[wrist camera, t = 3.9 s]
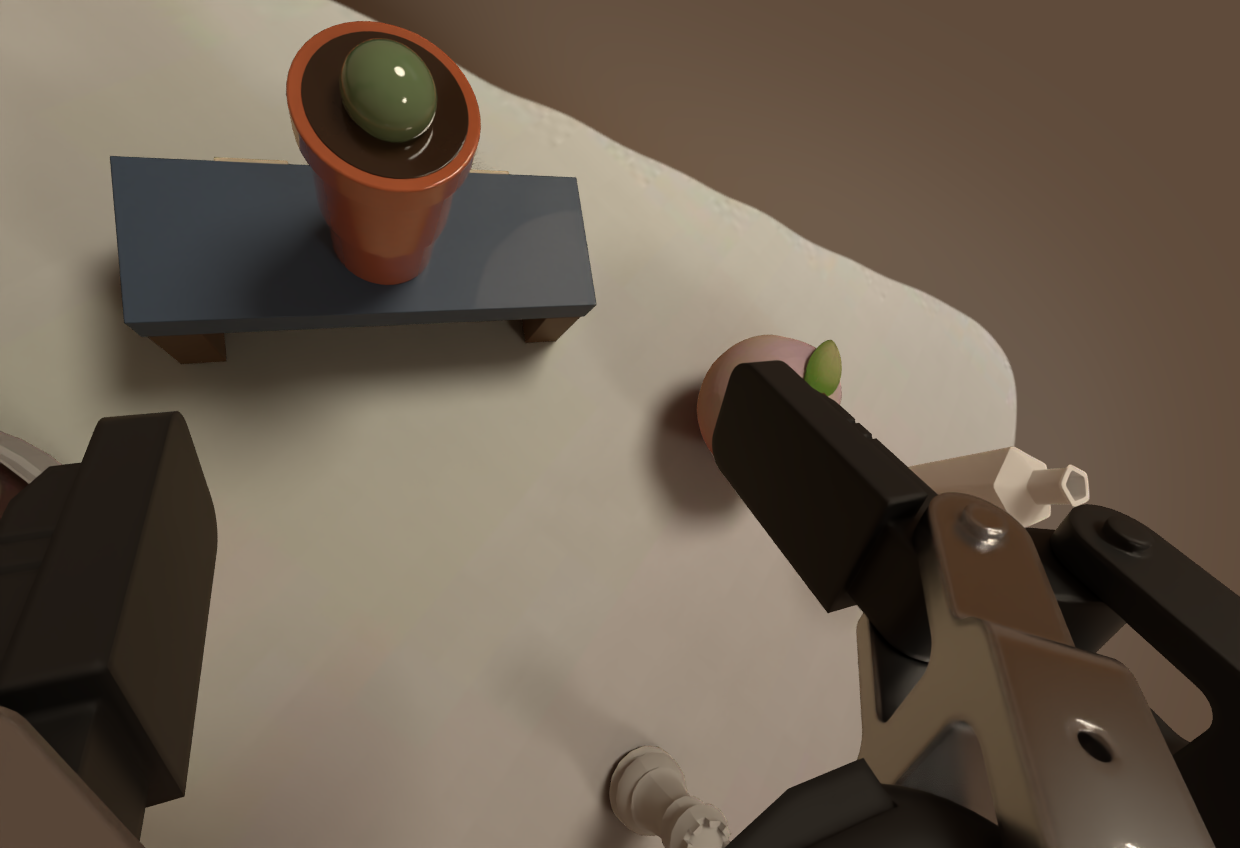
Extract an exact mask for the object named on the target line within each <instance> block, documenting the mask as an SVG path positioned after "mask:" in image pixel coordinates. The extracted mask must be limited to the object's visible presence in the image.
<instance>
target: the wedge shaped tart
mask: <svg viewBox="0 0 1240 848" xmlns="http://www.w3.org/2000/svg"><path fill="white" fill-rule="evenodd" d="M56 465H62V464H61V463H59V462H58V461H57V460H55V459H54V458H53V457H52V456H50V455H49V454H47V453H45V452H44V451H42V450H40V449H38V448H36V447H35V446H33V445H31V444H29V443H27V442H25V441H24V440H22V439H19V438H17V437H14V436H12V435H9V434H6V433H4V432H1V431H0V519H1V517H2V515H3V513H4V511H5V509H6V507H7V505H8V503H9V501H10V500H11V499H12V498H13V497H14V496H16V495H17V494H18V493H19V492H20V491H21V490H23V489H24V488H25V487H26V486H27V485H28V484H29V483H31V482H32V481H33V480H34V479H35V478H36V477H38V476H39V475H40V474H41V473H42V472H43V471H44V470H46V469H47V468H48V467H49V466H56Z"/></svg>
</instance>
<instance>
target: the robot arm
mask: <svg viewBox="0 0 1240 848" xmlns="http://www.w3.org/2000/svg"><path fill="white" fill-rule="evenodd" d="M712 451H713V456H714V459H715V462H716V464H717V466H718V468H719V470H720V471H721V472H722V474H723V475H724V476H725V478H726V479H727V480H728V482H729V483H730V484H731V486H732V487H733V488H734V490H735V491H736V492H737V494H738V495H739V496H740V497H741V499H742V500H743V501H744V503H745V504H746V505H747V507H748V508H749V509H750V511H751V512H752V513H753V515H754V516H755V517H756V519H757V520H758V521H759V523H760V524H761V525H762V527H763V528H764V529H765V531H766V532H767V533H768V535H769V536H770V537H771V539H772V540H773V541H774V543H775V544H776V545H777V547H778V548H779V549H780V550H781V552H782V553H783V554H784V556H785V557H786V558H787V560H788V561H789V562H790V564H791V565H792V566H793V568H794V569H795V570H796V572H797V573H798V574H799V576H800V577H801V578H802V580H803V581H804V582H805V584H806V585H807V586H808V588H809V589H810V590H811V592H812V593H813V594H814V596H815V597H816V598H817V599H818V601H819V602H820V603H821V605H822V606H823V607H824V609H825V610H826V611H827V613H830V612H833V611H837V610H840V609H844V608H847V607H851V606H854V605H858V607H859V608H860V609H861V610H862V611H863V614H862V616H861V617H860V619H859V621H858V623H857V629H856V634H857V651H858V668H859V685H860V702H861V719H862V741H861V747H860V752H859V755H858V758H857V760H856V761H854V762H852V763H849V764H847V765H844V766H842V767H840V768H837V769H835V770H832V771H830V772H828V773H825V774H823V775H820V776H818V777H815V778H813V779H811V780H808V781H806V782H803V783H801V784H799V785H796V786H794V787H791V788H789V789H787V790H786V791H785V792H784V793H783V794H782V795H781V796H780V797H779V798H778V799H777V800H776V801H774V802H773V803H772V804H771V805H770V806H769V807H768V808H767V809H766V810H765V811H764V812H763V813H761V814H760V815H759V816H758V817H757V818H756V819H755V820H754V821H753V822H752V823H751V824H750V825H748V826H747V827H746V828H745V829H744V830H743V831H742V832H741V833H740V834H739V835H738V836H737V837H735V838H734V839H733V840H732V841H731V842H730V843H729V844H728V845H727V846H726V847H725V848H1240V597H1239V596H1238V595H1237V594H1235V593H1234V592H1233V591H1231V590H1230V589H1229V588H1227V587H1226V586H1225V585H1223V584H1222V583H1221V582H1220V581H1218V580H1217V579H1216V578H1214V577H1213V576H1211V575H1210V574H1209V573H1208V572H1206V571H1205V570H1204V569H1203V568H1201V567H1200V566H1199V565H1197V564H1196V563H1195V562H1193V561H1192V560H1191V559H1189V558H1188V557H1187V556H1185V555H1184V554H1183V553H1181V552H1180V551H1179V550H1178V549H1176V548H1175V547H1174V546H1172V545H1171V544H1170V543H1168V542H1167V541H1166V540H1164V539H1163V538H1162V537H1160V536H1159V535H1158V534H1157V533H1155V532H1154V531H1152V530H1151V529H1149V528H1148V527H1147V526H1145V525H1144V524H1142V523H1140V522H1138V521H1137V520H1135V519H1133V518H1131V517H1129V516H1127V515H1125V514H1123V513H1121V512H1118V511H1115V510H1113V509H1110V508H1106V507H1102V506H1097V505H1088V504H1086V505H1079V506H1076V507H1074V508H1073V509H1072V510H1071V512H1070V513H1069V514H1068V515H1067V516H1066V518H1065V519H1064V520H1063V521H1062V523H1061V524H1060V525H1059V527H1058V528H1057V529H1056V530H1049V529H1038V528H1026V527H1023V526H1022V525H1021V524H1020V523H1019V522H1018V521H1017V520H1016V519H1015V518H1014V517H1013V516H1011V515H1010V514H1009V513H1007V512H1006V511H1004V510H1003V509H1001V508H1000V507H998V506H996V505H994V504H992V503H990V502H988V501H986V500H984V499H981V498H979V497H976V496H973V495H969V494H964V493H958V492H947V493H941V494H939V495H938V494H937V493H936V492H935V491H934V490H932V489H931V488H930V487H929V486H928V485H927V484H926V483H925V482H924V481H923V480H921V479H920V478H919V477H918V476H917V475H916V474H915V473H914V472H913V471H912V470H910V469H909V468H908V467H907V466H906V465H905V464H904V463H903V462H902V461H901V460H899V459H898V458H897V457H896V456H895V455H894V454H893V453H892V452H891V451H890V450H888V449H887V448H886V447H885V446H884V445H883V444H882V443H881V442H880V441H879V440H877V439H872V434H871V433H870V432H869V431H868V430H866V429H865V428H864V427H863V426H862V425H861V424H860V423H855V419H854V418H853V417H852V416H851V415H850V414H849V413H848V412H847V411H846V410H844V409H843V408H842V407H841V406H840V405H839V404H838V403H837V402H836V401H835V400H833V399H831V398H829V397H827V396H826V395H824V394H822V393H820V392H819V391H817V390H815V389H814V388H812V387H811V386H810V385H809V384H808V383H807V382H806V381H805V380H804V379H803V378H802V377H801V376H799V375H798V374H797V373H796V372H795V371H794V370H793V369H792V368H791V367H790V366H789V365H788V364H786V363H785V362H783V361H781V360H772V361H761V362H749V363H740V364H738V365H737V366H736V367H735V368H734V369H733V371H732V373H731V375H730V378H729V381H728V385H727V388H726V391H725V395H724V398H723V402H722V405H721V408H720V412H719V415H718V418H717V422H716V425H715V429H714V432H713V436H712ZM216 554H217V522H216V515H215V510H214V505H213V502H212V498H211V495H210V492H209V489H208V486H207V483H206V480H205V477H204V474H203V471H202V468H201V465H200V462H199V459H198V456H197V453H196V450H195V447H194V444H193V441H192V438H191V435H190V432H189V429H188V426H187V423H186V421H185V419H184V417H183V416H182V414H181V413H180V412H178V411H173V412H162V413H150V414H139V415H127V416H116V417H104V418H102V419H100V420H99V421H98V423H97V425H96V427H95V430H94V432H93V435H92V437H91V440H90V442H89V445H88V447H87V450H86V452H85V455H84V457H83V460H82V462H81V463H74V464H65V465H56V466H49V467H48V468H47V469H46V470H44V471H43V472H42V473H41V474H40V475H39V476H38V477H36V478H35V479H34V480H33V481H32V482H31V483H29V484H28V485H27V486H26V487H25V488H24V489H23V490H21V491H20V492H19V493H18V494H17V495H16V496H14V497H13V498H12V499H11V500H10V501H9V503H8V505H7V507H6V509H5V511H4V513H3V515H2V517H1V519H0V848H145V847H144V846H143V845H142V844H141V843H140V842H139V841H140V836H141V830H142V824H143V818H144V813H145V808H146V807H150V806H153V805H157V804H160V803H164V802H167V801H171V800H174V799H178V798H181V797H184V796H185V789H186V781H187V773H188V766H189V758H190V751H191V743H192V736H193V728H194V720H195V713H196V705H197V698H198V690H199V682H200V675H201V667H202V660H203V652H204V645H205V637H206V629H207V622H208V614H209V607H210V599H211V591H212V584H213V576H214V569H215V561H216ZM1126 623H1128V625H1130V626H1131V627H1132V628H1133V629H1134V630H1135V631H1136V632H1137V633H1138V634H1140V635H1141V636H1142V637H1143V638H1144V639H1145V640H1146V641H1147V642H1148V643H1150V644H1151V645H1152V646H1153V647H1154V648H1155V649H1156V650H1157V651H1158V652H1159V653H1160V654H1162V655H1163V656H1164V657H1165V658H1166V659H1167V660H1168V661H1169V662H1170V663H1172V664H1173V665H1174V666H1175V667H1176V668H1177V669H1178V670H1179V671H1180V672H1181V673H1183V674H1184V675H1185V676H1186V677H1187V678H1188V679H1189V680H1190V681H1191V682H1193V683H1194V684H1195V685H1196V686H1197V687H1198V688H1199V689H1200V690H1201V691H1202V692H1203V694H1204V695H1205V696H1206V698H1207V700H1208V701H1209V703H1210V706H1211V708H1212V713H1213V720H1212V724H1211V726H1210V728H1209V729H1208V730H1206V731H1205V732H1204V733H1202V734H1201V735H1200V736H1198V737H1197V738H1196V739H1194V740H1193V741H1192V742H1188V741H1186V740H1185V739H1183V738H1182V737H1180V736H1179V735H1177V734H1176V733H1175V732H1174V731H1173V730H1172V729H1171V728H1170V727H1169V726H1168V725H1167V724H1166V723H1165V722H1164V721H1163V720H1162V719H1161V718H1160V717H1159V716H1158V715H1157V714H1156V713H1155V712H1154V711H1153V710H1152V709H1151V708H1150V707H1149V706H1148V704H1147V702H1146V700H1145V697H1144V695H1143V693H1142V691H1141V689H1140V687H1139V685H1138V683H1137V681H1136V679H1135V677H1134V676H1133V674H1132V673H1131V672H1130V670H1129V669H1128V668H1127V667H1126V666H1125V665H1124V664H1123V663H1121V662H1119V661H1118V660H1116V659H1113V658H1110V657H1107V656H1103V655H1100V654H1097V653H1096V652H1097V651H1098V650H1099V649H1100V648H1101V647H1102V646H1103V645H1104V644H1105V643H1106V642H1107V641H1108V640H1109V639H1110V638H1111V637H1112V636H1113V635H1114V634H1115V633H1117V632H1118V631H1119V630H1120V628H1121V627H1123V626H1124V625H1125V624H1126Z"/></svg>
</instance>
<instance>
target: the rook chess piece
mask: <svg viewBox="0 0 1240 848" xmlns="http://www.w3.org/2000/svg"><path fill="white" fill-rule="evenodd" d="M609 796H610V801H611V807H612V810H613V812H614V813H615V815H616V816H617V818H618V819H619V821H620V822H622V823H623V824H625V826H626V827H627V828H628V829H630V830H632V831H633V832H635V833H637V834H639V835H644V836H655V835H657V836H659V837H660V838H662V843H663V845H664V846H665V848H725V847H726V846H727V845H728V844H729V843H730V841H729V836H730V835H731V833H730V831H729V829H728V823H727V820H726V818H725V817H724V815H723V813H722V812H721V810H719V809H718V808H716V807H715V806H713V805H711V804H704V803H703V801H701V800H699V799H698V798H696V797H695V796H690V795H689V794H688V793H687V788H686V783H685V778H684V774H683V772H682V770H681V769H680V767H679V766H678V764H677V763H676V761H675V760H674V759H672V758H671V756H670V755H669V754H668V753H667V752H665V751H664V750H662V749H660V748H659V747H653V746H643V747H640V748H638V749H635V750H632V751H631V752H630V753H629V754H627V755H626V756H625V757H624V758H623V759H622V760H621V761H620V762H619V764H618V766H617V768H616V770H615V772H614V773H613V775H612V779H611V785H610V791H609Z"/></svg>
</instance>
